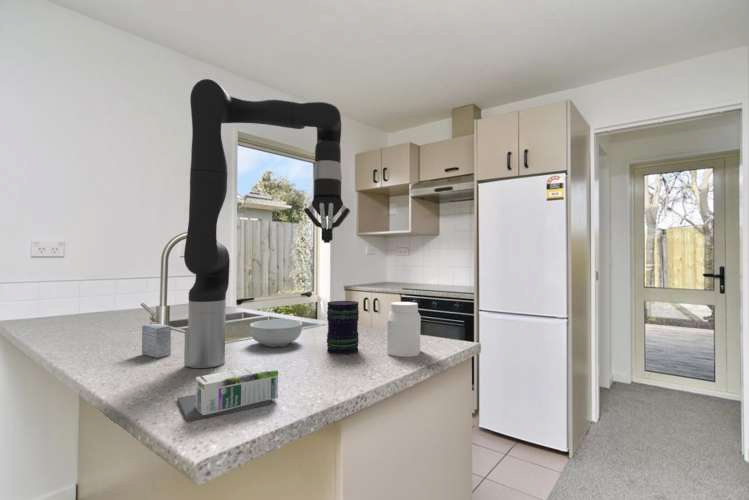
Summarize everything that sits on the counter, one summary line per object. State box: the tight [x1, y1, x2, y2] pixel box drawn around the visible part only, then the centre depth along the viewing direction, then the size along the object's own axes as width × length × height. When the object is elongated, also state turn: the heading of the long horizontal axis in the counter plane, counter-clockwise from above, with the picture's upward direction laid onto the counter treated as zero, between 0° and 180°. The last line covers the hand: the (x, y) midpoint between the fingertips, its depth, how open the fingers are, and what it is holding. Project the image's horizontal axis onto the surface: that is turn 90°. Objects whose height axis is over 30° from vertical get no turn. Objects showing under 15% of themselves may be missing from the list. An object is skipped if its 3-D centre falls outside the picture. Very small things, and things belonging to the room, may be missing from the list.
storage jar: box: [326, 300, 360, 355], centre depth 122 cm, size 10×10×15 cm
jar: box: [386, 301, 422, 358], centre depth 121 cm, size 12×10×15 cm
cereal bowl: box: [249, 318, 303, 347], centre depth 130 cm, size 17×17×7 cm
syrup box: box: [195, 364, 279, 415], centre depth 76 cm, size 6×6×14 cm
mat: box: [177, 393, 271, 422], centre depth 78 cm, size 15×12×1 cm
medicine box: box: [141, 323, 172, 359], centre depth 115 cm, size 8×4×9 cm, turn 58°
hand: (327, 242), depth 108 cm, fingers closed
